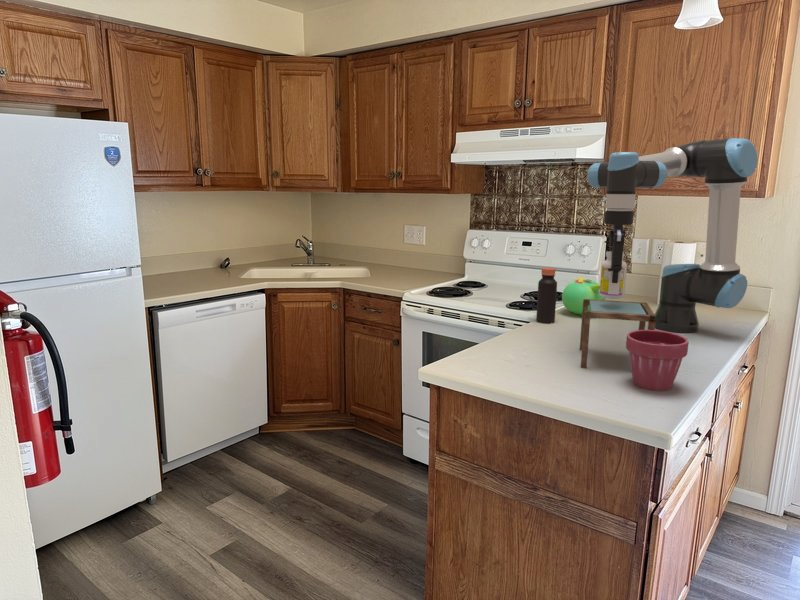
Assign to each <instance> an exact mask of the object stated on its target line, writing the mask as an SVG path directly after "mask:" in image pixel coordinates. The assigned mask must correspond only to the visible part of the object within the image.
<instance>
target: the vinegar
mask: <svg viewBox="0 0 800 600" xmlns="http://www.w3.org/2000/svg"><path fill="white" fill-rule="evenodd" d="M555 276H556V268H553V267H542V268H541V279H540V280H539V281H537V282H538V283H537V297H536V298H537V301H536V302H537V303H536V320H535V321H536V322H538V323H540V322H541V324H553V322H554V323H555V322H556V307H557V305H556V304H557V294H558V293H557V291H558V282H557V280H556V279H555Z"/></svg>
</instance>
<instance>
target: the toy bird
mask: <svg viewBox="0 0 800 600" xmlns="http://www.w3.org/2000/svg"><path fill="white" fill-rule="evenodd" d="M576 278H577V279H576V280H573V281H571V282H569V283H568V284H567V285H566V286H565V288H564V289H563V291H562V294H561V301H562V304H563V306H564V308H565V309H567V310H568V311H569V312H571V313H572V314H575V315H578V316H582V311H583V299H593V300H606V298H604V297H601V296H600V284H599V283H598V282H596V281H593V280H591V279H586V278H584V277H581V276H577V277H576ZM588 311H591V309H590V305H588Z"/></svg>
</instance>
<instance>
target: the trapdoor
mask: <svg viewBox="0 0 800 600" xmlns="http://www.w3.org/2000/svg"><path fill="white" fill-rule="evenodd" d="M590 309H591V311H597V312H612V313H627V314H642V315H647V314H646V313H645V311H644V310H643V308H642V306H641V305H640V303H624V302H607V301H591V300H590Z"/></svg>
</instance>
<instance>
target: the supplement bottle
mask: <svg viewBox="0 0 800 600" xmlns="http://www.w3.org/2000/svg"><path fill="white" fill-rule="evenodd" d="M605 253H606V254H605V257H606V259H605V260H604V261H602V262H601V271H600V282H599V283H600V284H599V285H600V296H601V297H604V298H605V299H613V300H614V299H615V300H617V299H623V298H624V297H625V293H626V280H627V268H628V265H627V264H628V263H627V262H625V260H624V257H625V252H624V251H623V255H622V270H621V273H620V285H619V295H616V294H608V289H609V277H610V271H608V268H611V259H612V251H609V250H608V251H606V252H605Z"/></svg>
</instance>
